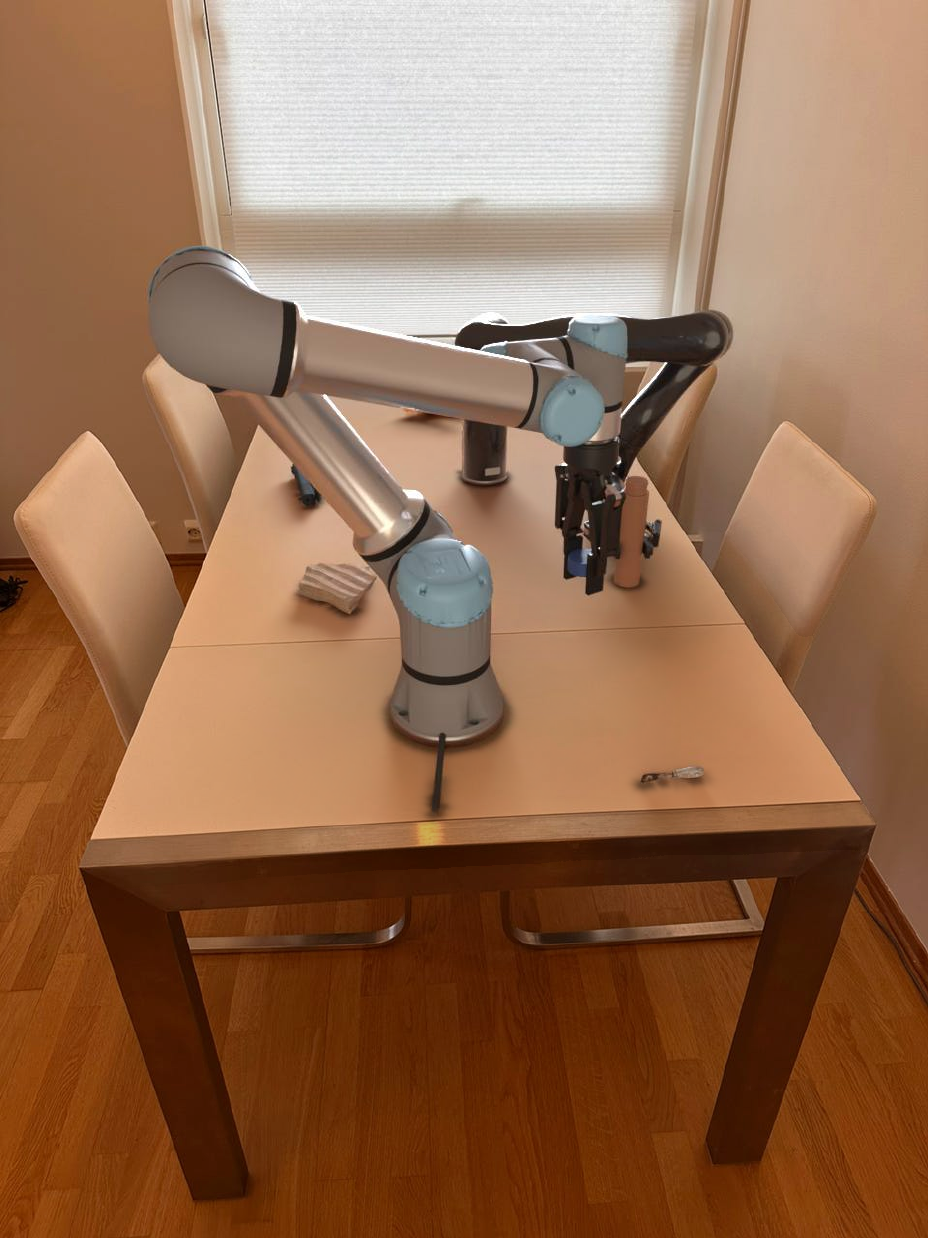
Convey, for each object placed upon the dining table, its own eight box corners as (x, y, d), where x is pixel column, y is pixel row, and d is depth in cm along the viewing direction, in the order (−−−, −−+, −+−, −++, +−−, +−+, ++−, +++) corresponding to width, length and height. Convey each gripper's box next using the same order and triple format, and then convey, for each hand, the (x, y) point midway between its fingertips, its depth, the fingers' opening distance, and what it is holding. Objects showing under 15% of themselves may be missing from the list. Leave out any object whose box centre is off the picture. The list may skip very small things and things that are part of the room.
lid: (607, 569, 132) (608, 556, 130) (584, 581, 129) (585, 567, 128) (583, 558, 135) (583, 545, 134) (560, 569, 132) (560, 555, 131)
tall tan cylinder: (644, 583, 151) (656, 481, 141) (625, 590, 149) (635, 487, 139) (627, 572, 154) (638, 472, 144) (608, 579, 152) (617, 478, 142)
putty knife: (703, 777, 109) (705, 767, 109) (642, 788, 108) (644, 777, 107) (700, 772, 110) (702, 762, 109) (639, 782, 109) (640, 771, 108)
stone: (385, 581, 151) (385, 567, 150) (351, 615, 142) (350, 601, 141) (319, 567, 156) (318, 554, 154) (282, 600, 146) (280, 587, 145)
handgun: (359, 501, 179) (299, 508, 177) (345, 467, 193) (290, 474, 191) (358, 487, 178) (297, 493, 175) (344, 454, 192) (288, 460, 189)
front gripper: (656, 450, 116) (641, 603, 128) (575, 411, 129) (568, 554, 141) (610, 462, 113) (599, 618, 125) (532, 421, 126) (528, 566, 138)
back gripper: (575, 490, 158) (591, 534, 143) (656, 489, 158) (679, 532, 144) (573, 529, 162) (588, 575, 147) (651, 527, 162) (674, 573, 148)
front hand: (582, 583), depth 133 cm, fingers closed on lid, 5 cm apart
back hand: (633, 553), depth 145 cm, fingers closed on tall tan cylinder, 4 cm apart
